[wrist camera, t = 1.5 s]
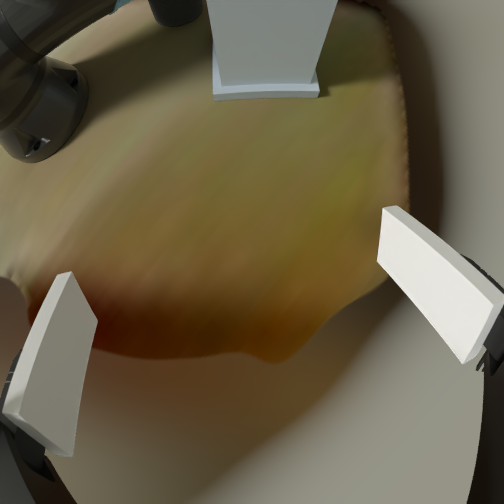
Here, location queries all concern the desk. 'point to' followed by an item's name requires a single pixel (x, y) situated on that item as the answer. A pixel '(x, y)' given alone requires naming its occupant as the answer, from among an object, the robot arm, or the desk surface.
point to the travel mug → (175, 11)
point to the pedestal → (267, 47)
